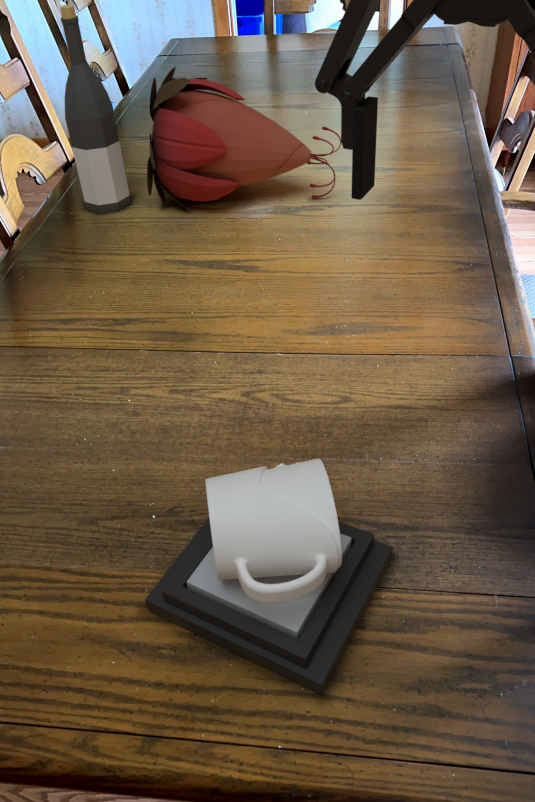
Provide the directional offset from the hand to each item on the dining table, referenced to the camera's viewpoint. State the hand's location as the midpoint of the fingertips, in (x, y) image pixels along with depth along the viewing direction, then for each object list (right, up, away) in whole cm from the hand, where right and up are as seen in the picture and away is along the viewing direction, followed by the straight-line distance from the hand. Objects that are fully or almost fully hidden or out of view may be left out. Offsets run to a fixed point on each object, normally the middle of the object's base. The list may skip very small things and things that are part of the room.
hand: (451, 206), depth 51 cm
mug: (-13, -27, +7) cm, 31 cm away
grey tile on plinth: (-13, -28, +8) cm, 32 cm away
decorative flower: (-16, +22, +71) cm, 76 cm away
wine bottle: (-40, +20, +70) cm, 83 cm away
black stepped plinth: (-13, -29, +9) cm, 33 cm away
